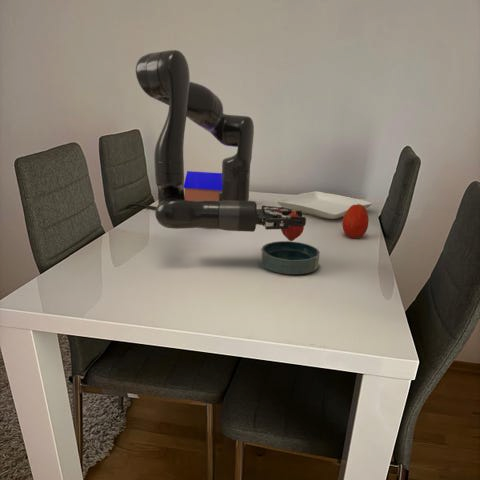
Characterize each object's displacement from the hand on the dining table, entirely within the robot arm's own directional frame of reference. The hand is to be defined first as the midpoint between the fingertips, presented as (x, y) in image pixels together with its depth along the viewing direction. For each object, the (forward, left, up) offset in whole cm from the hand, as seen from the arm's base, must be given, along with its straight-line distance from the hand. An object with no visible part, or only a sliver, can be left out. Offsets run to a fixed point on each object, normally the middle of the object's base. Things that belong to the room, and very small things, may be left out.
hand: (303, 218), depth 115 cm
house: (-55, +42, -13) cm, 70 cm away
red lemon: (-2, -2, -6) cm, 7 cm away
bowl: (-2, -1, -13) cm, 13 cm away
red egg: (+4, +35, -13) cm, 37 cm away
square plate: (-16, +60, -13) cm, 63 cm away
